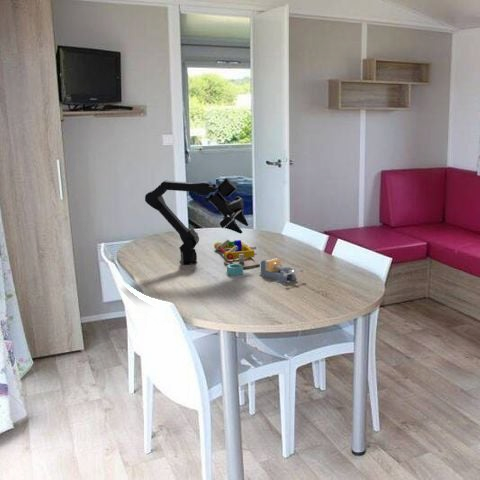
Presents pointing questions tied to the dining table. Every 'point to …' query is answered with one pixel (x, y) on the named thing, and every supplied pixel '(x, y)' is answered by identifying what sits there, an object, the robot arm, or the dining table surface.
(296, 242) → the dining table surface
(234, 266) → the ring
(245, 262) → the post stand
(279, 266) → the vise
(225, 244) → the yellow jointed frame
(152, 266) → the dining table surface
